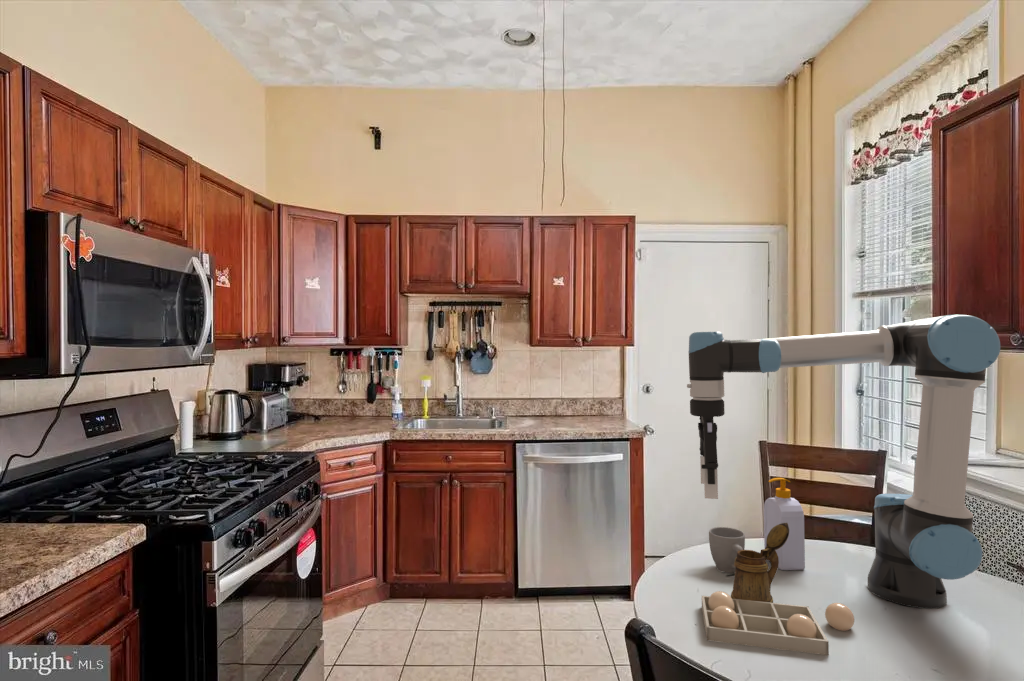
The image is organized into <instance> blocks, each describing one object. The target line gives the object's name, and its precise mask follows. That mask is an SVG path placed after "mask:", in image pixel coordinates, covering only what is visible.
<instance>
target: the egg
mask: <svg viewBox="0 0 1024 681" xmlns="http://www.w3.org/2000/svg"><path fill="white" fill-rule="evenodd" d="M824 617H825V620H826V622H827V624H828V625H829V626H830V627H832V628H833V629H835V630H837V631H841V632H842V631H845V632H846V631H849V630H851V629H852V628H853V627H854V625H855V616H854V613H853V611H852V609H850V608H849V607H848V606H847V605H846V604H844V603H841V602H832V603H830V604H829V605H828V606H827V607H826V608H825V612H824Z"/></svg>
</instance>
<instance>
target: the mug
mask: <svg viewBox="0 0 1024 681" xmlns="http://www.w3.org/2000/svg"><path fill="white" fill-rule="evenodd" d="M708 541H709V542H708V543H709V549H710V553H711V556H712V561H713V562H714V564H715V568H716V570H717V571H720V572H722V573H727V574H735V566H734V562H735V558H736V557H737V552H738V551H739V550H745V546H746V536H745V533H744V531H742V530H740V529H737V528H733V527H728V526H727V527H726V526H717V527H712V528H710V529H709V530H708Z"/></svg>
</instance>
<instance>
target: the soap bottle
mask: <svg viewBox="0 0 1024 681" xmlns="http://www.w3.org/2000/svg"><path fill="white" fill-rule="evenodd" d="M776 481H780V482H779V483H780V484H779V486H780V487H777V488H775V495H774V497H768V498H767V499H765V501H764V502H763V504H764V505H763V529H764V530H763V535H764V538H763V539H764V540H763V541H764V542H763V543H764V547H763V548H764V549H765V548H766V541H767V536H768V534H769V532H770V530H771V529H772V528H773V527H775V526H776V525H778V524H781V523H788V526H789V536H788V539H787V541H786V542H785V544H784V545H783V546H782V547H781V548H779V549H777V550H775V551H776V553H777V555H778V560H779V564H778V570H781V571H796V570H800V571H801V570H805V569H806V556H805V555H806V554H805V553H806V549H805V548H806V547H805V546H806V545H805V515H804V510H803V507H802V505H801V503H800V501H799V500H797V499H796V498H795V497H791V495H792V494H791V489H789V488H786V486H787V483H786V482H788V483H791V482H792V481H790V480H789V479H786V478H784V477H773V478H771V479H769V480H768V483H770V484H771V483H773V482H776ZM767 562H770V561H769V560H767Z"/></svg>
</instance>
